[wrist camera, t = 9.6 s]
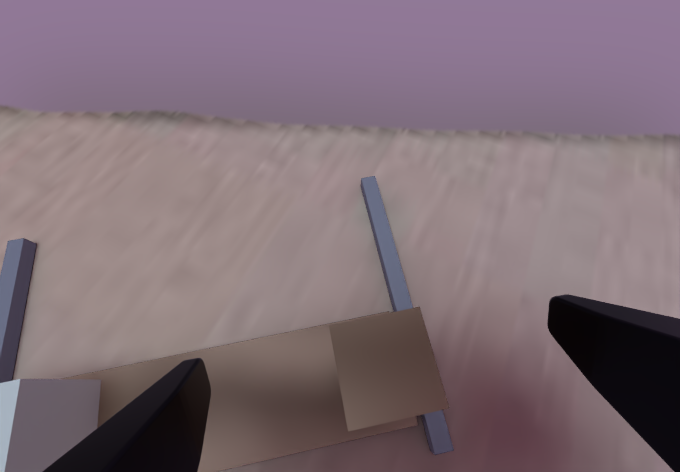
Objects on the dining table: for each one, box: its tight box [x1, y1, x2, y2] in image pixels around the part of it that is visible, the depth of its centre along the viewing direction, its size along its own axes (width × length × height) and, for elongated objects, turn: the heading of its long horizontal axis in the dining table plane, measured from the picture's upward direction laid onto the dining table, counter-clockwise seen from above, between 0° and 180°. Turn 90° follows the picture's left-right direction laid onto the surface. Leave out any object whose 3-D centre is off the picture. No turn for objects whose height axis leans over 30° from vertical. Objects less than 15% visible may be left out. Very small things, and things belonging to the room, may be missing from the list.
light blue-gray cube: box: [0, 379, 101, 472], centre depth 15 cm, size 5×5×5 cm
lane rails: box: [0, 176, 454, 455], centre depth 20 cm, size 17×25×1 cm
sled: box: [63, 307, 449, 472], centre depth 14 cm, size 6×22×10 cm, turn 101°
